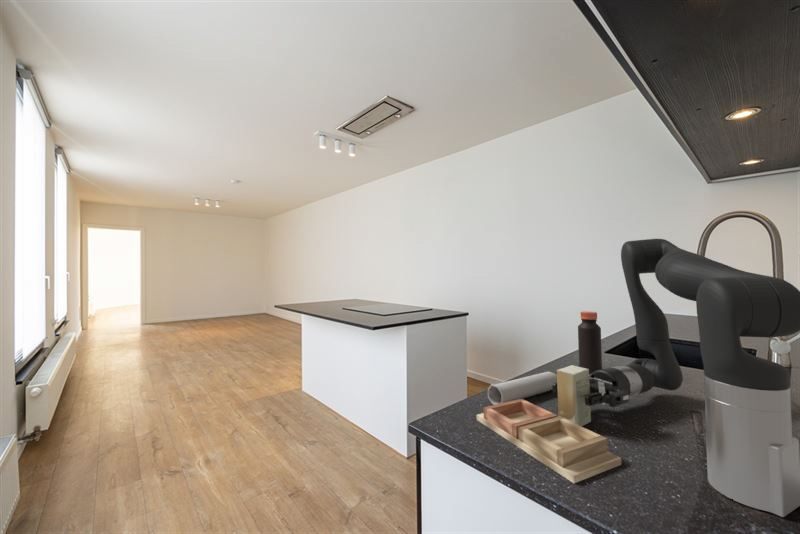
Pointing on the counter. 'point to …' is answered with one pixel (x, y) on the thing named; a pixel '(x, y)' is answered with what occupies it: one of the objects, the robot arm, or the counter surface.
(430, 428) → the counter surface
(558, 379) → the skincare box
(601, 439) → the two-compartment wooden tray
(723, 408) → the robot arm
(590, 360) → the vinegar
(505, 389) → the tube
